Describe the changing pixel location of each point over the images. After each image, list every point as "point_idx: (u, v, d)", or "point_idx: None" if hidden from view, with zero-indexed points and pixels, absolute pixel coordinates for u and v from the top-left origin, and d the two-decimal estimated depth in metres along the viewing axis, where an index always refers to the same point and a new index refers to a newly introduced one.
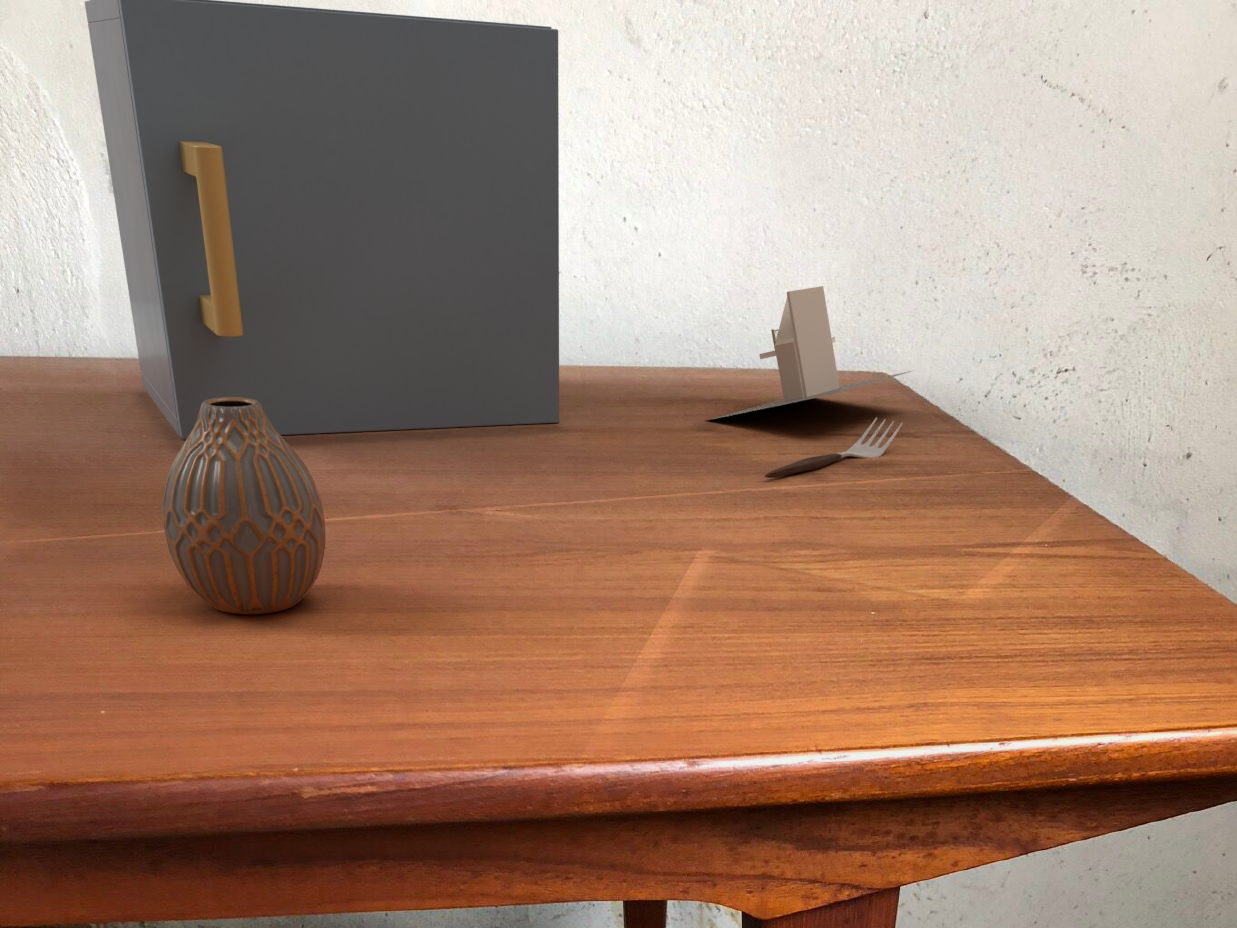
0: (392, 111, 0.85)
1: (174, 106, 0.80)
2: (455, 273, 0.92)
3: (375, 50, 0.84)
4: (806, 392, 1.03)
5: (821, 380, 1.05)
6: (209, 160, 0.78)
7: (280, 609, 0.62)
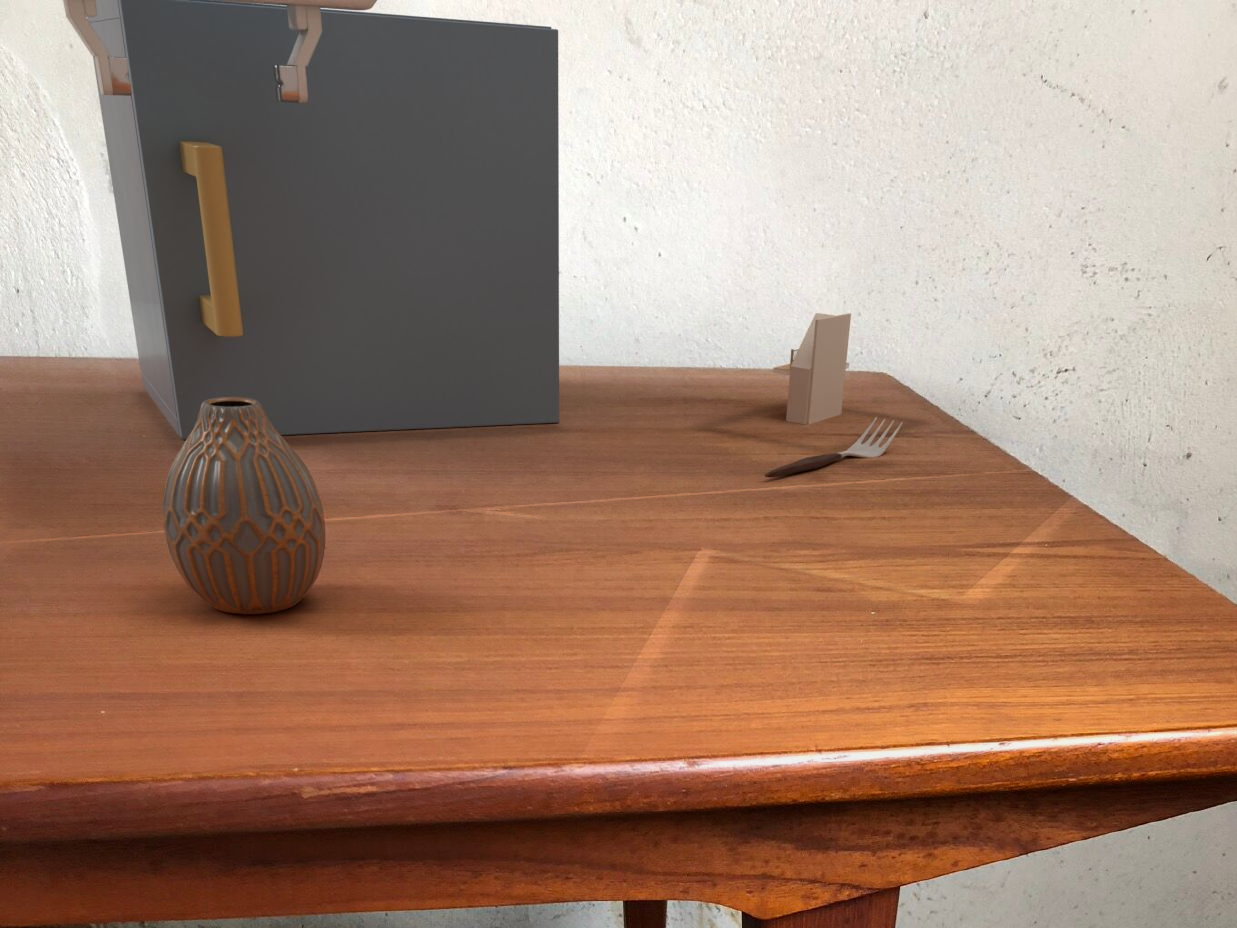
0: (392, 111, 0.85)
1: (174, 106, 0.80)
2: (455, 273, 0.92)
3: (375, 50, 0.84)
4: (809, 420, 1.04)
5: (825, 408, 1.06)
6: (209, 160, 0.78)
7: (280, 609, 0.62)
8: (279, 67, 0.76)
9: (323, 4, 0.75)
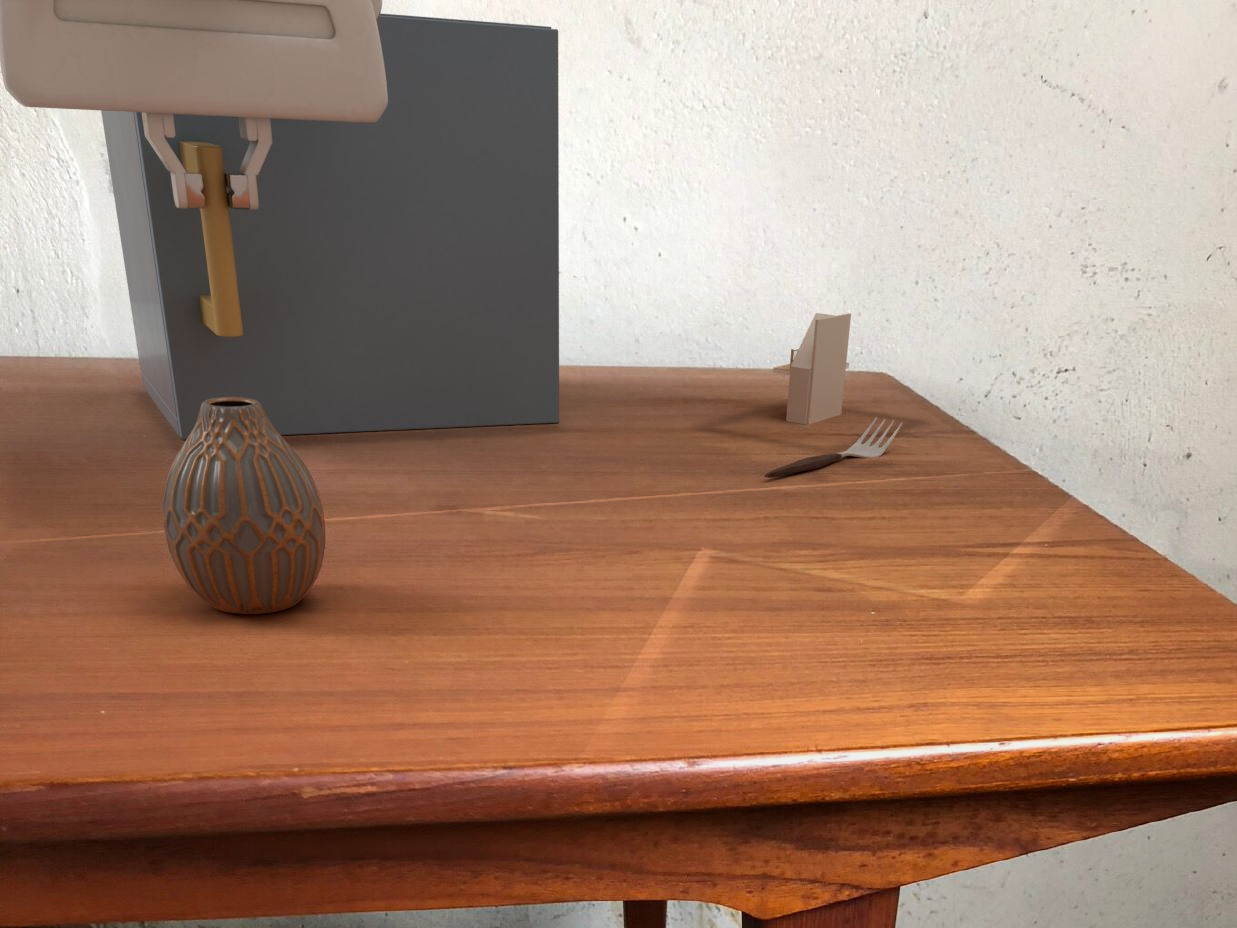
0: (392, 111, 0.85)
1: None
2: (455, 273, 0.92)
3: None
4: (809, 420, 1.04)
5: (825, 408, 1.06)
6: (209, 160, 0.78)
7: (280, 609, 0.62)
8: (230, 176, 0.78)
9: (330, 120, 0.78)
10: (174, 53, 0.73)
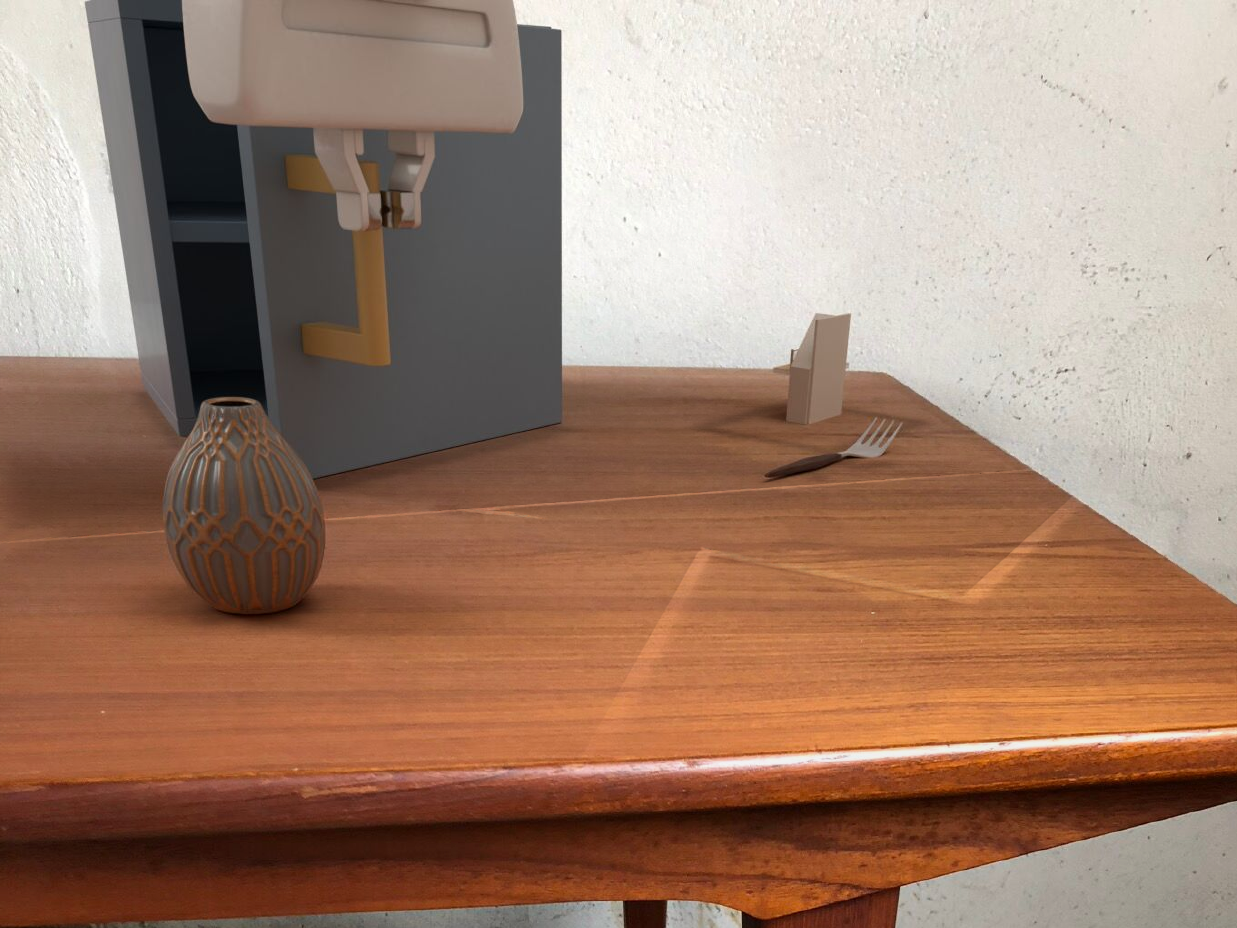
0: None
1: None
2: (492, 280, 0.89)
3: None
4: (809, 420, 1.04)
5: (825, 408, 1.06)
6: (372, 177, 0.72)
7: (280, 609, 0.62)
8: (400, 194, 0.72)
9: (482, 131, 0.75)
10: (374, 64, 0.67)
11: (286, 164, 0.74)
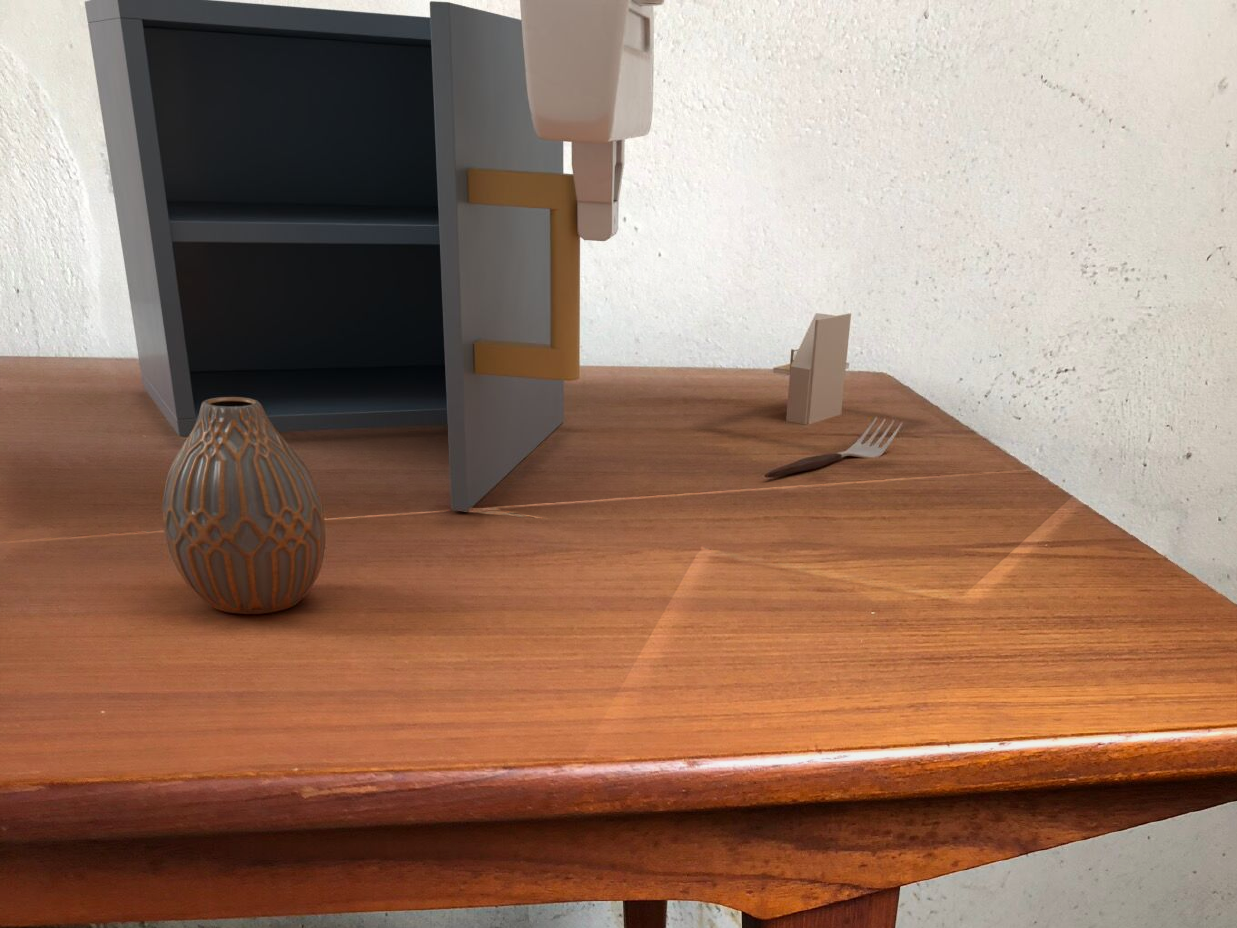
0: (524, 120, 0.81)
1: (465, 129, 0.70)
2: (540, 284, 0.89)
3: (520, 57, 0.78)
4: (809, 420, 1.04)
5: (825, 408, 1.06)
6: None
7: (280, 609, 0.62)
8: (613, 204, 0.72)
9: (642, 135, 0.76)
10: (631, 74, 0.67)
11: (470, 178, 0.71)
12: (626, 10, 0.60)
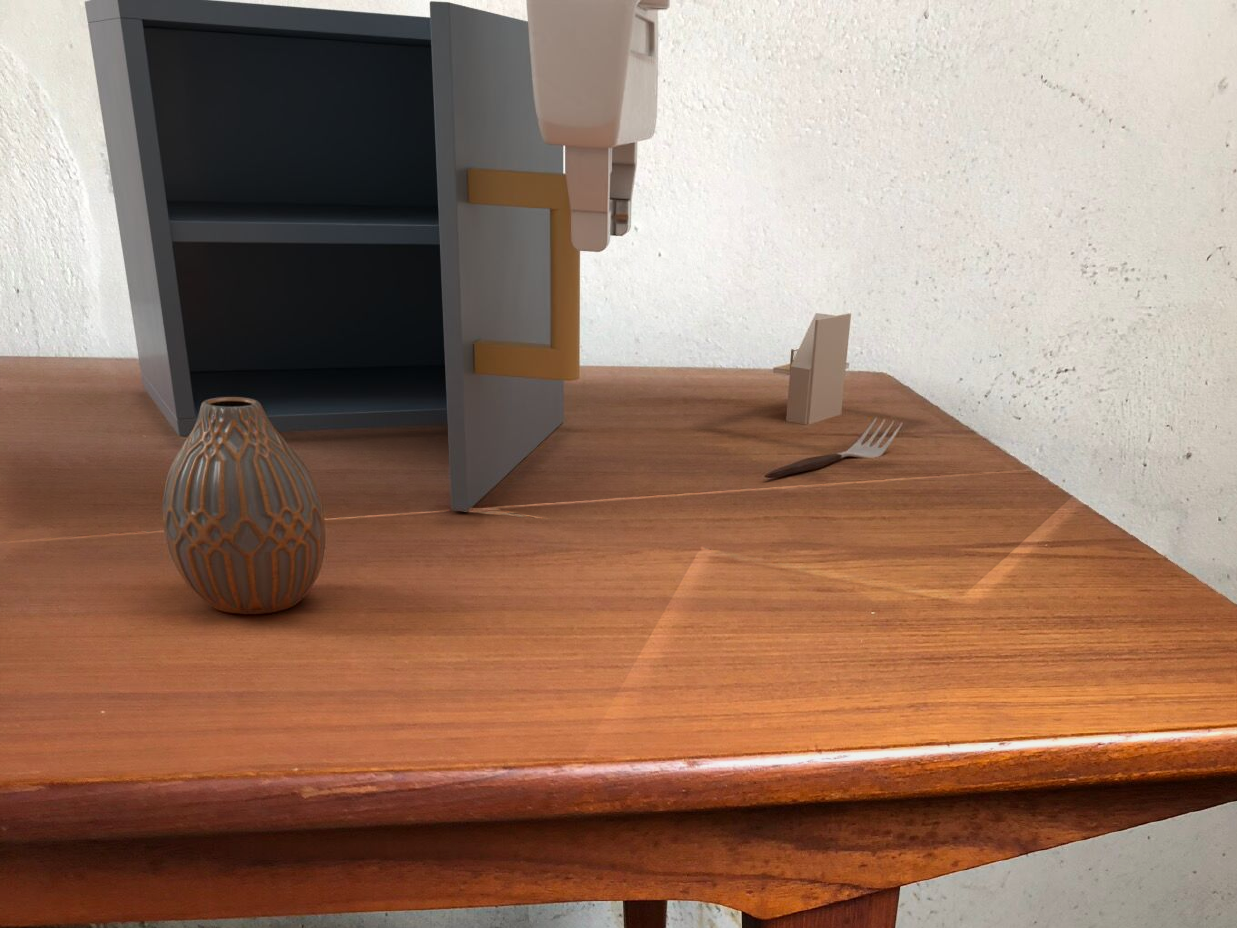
0: (524, 120, 0.81)
1: (465, 129, 0.70)
2: (540, 284, 0.89)
3: (520, 57, 0.78)
4: (809, 420, 1.04)
5: (825, 408, 1.06)
6: None
7: (280, 609, 0.62)
8: (626, 203, 0.75)
9: (646, 139, 0.76)
10: (636, 79, 0.68)
11: (470, 178, 0.71)
12: (632, 16, 0.60)
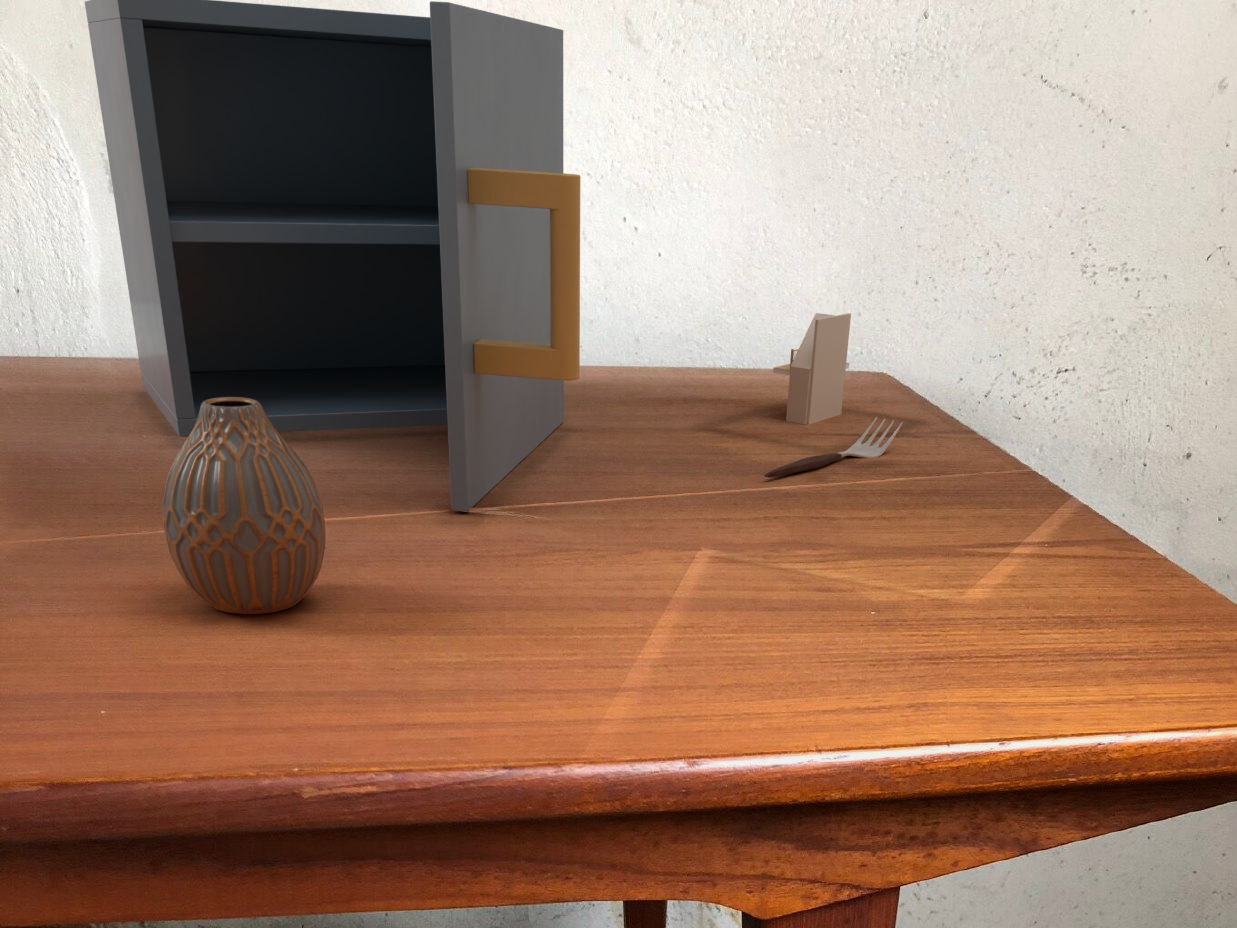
0: (524, 120, 0.81)
1: (465, 129, 0.70)
2: (540, 284, 0.89)
3: (520, 57, 0.78)
4: (809, 420, 1.04)
5: (825, 408, 1.06)
6: (579, 190, 0.71)
7: (280, 609, 0.62)
8: None
9: None
10: None
11: (470, 178, 0.71)
12: None
